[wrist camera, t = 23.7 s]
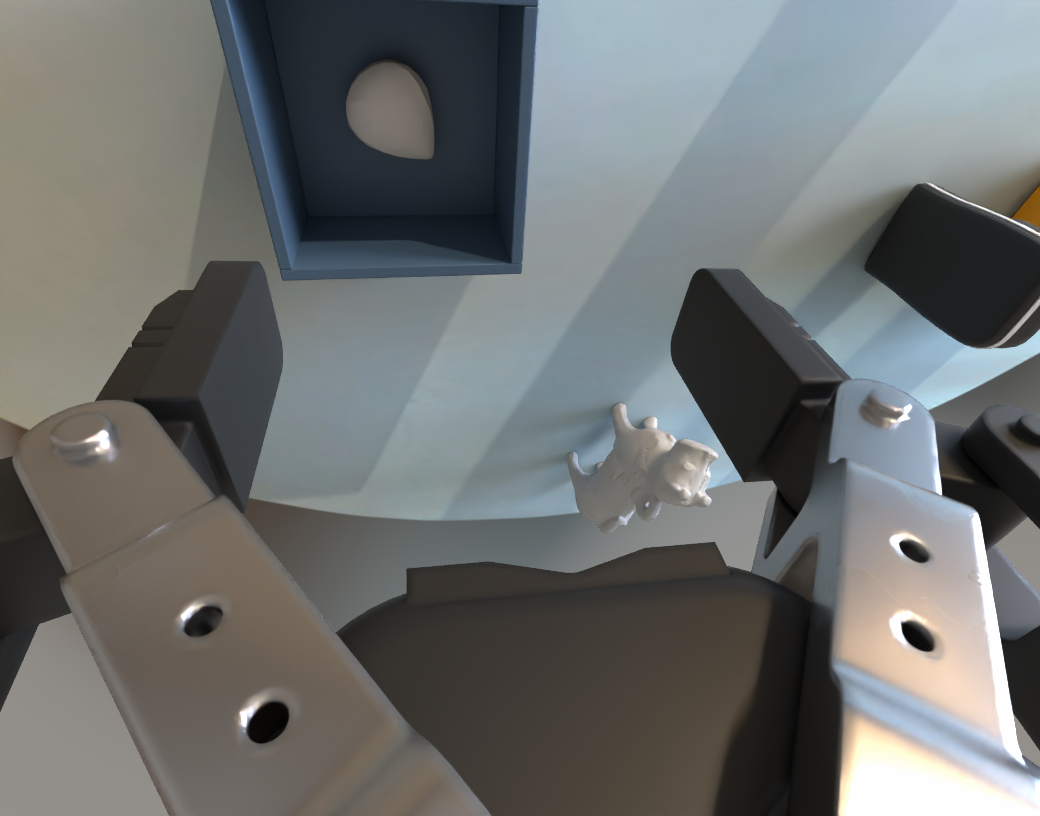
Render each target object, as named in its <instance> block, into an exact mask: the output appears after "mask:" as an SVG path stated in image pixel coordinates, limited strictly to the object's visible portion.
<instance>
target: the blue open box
mask: <svg viewBox="0 0 1040 816" xmlns="http://www.w3.org/2000/svg"><path fill="white" fill-rule="evenodd" d="M210 1H211V5H212V9H213V13H214V17H215V20H216V24H217V28H218V32H219V36H220V40H221V44H222V48H223V51H224V55H225V59H226V63H227V67H228V71H229V75H230V79H231V82H232V86H233V90H234V94H235V98H236V102H237V106H238V110H239V113H240V117H241V121H242V125H243V129H244V133H245V137H246V141H247V144H248V148H249V152H250V156H251V160H252V164H253V168H254V172H255V175H256V179H257V183H258V187H259V191H260V195H261V199H262V203H263V207H264V210H265V214H266V218H267V222H268V226H269V230H270V234H271V238H272V241H273V245H274V249H275V253H276V257H277V261H278V265H279V268H280V273H281V277H282V280H283V281H286V280H320V279H354V278H389V277H423V276H457V275H491V274H521V273H522V259H523V243H524V227H525V212H526V196H527V181H528V165H529V150H530V134H531V118H532V103H533V87H534V72H535V56H536V40H537V25H538V7H537V6H538V5H539V0H210ZM384 59H389V60H397V61H401V62H404V63H407V64H409V65H410V66H411V67H412V68H413V69H414V70H415V71H416V72H417V73H418V74H419V75H420V77H421V79H422V80H423V82H424V84H425V85H426V87H427V89H428V94H429V98H430V102H431V106H432V113H433V121H434V154H433V157H432V158H431V159H427V160H426V159H411V158H404V157H398V156H394V155H391V154H387V153H384V152H382V151H379V150H376V149H374V148H371V147H369V146H367V145H366V144H365V143H364V142H362V141H361V140H360V139H359V138H358V137H357V136H356V135H355V133H354V132H353V131H352V129H351V128H350V127H349V124H348V119H347V114H346V100H347V97H348V93H349V90H350V87H351V84H352V83H353V81H354V80H355V78H356V77H357V75H358V74H359V72H360V71H362V70H363V69H364V68H366V67H367V66H369V65H370V64H371V63H373V62H377V61H380V60H384Z"/></svg>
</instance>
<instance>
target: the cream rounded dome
mask: <svg viewBox="0 0 1040 816" xmlns="http://www.w3.org/2000/svg"><path fill="white" fill-rule="evenodd" d="M346 114H347V119H348V124H349V127H350V128H351V129H352V131H353V132H354V133H355V135H356V136H357V137H358V138H359V139H360V140H361V141H362V142H364V143H365V144H366V145H367V146H369V147H371V148H374V149H376V150H379V151H382V152H384V153H387V154H391V155H394V156H398V157H404V158H411V159H426V160H427V159H431V158H432V157H433V154H434V121H433V113H432V106H431V102H430V98H429V94H428V89H427V87H426V85H425V84H424V82H423V80H422V79H421V77H420V75H419V74H418V73H417V72H416V71H415V70H414V69H413V68H412V67H411V66H410V65H409V64H407V63H404V62H401V61H397V60H389V59H384V60H380V61H377V62H373V63H371V64H370V65H369V66H367V67H366V68H364V69H363V70H362V71H360V72H359V74H358V75H357V77H356V78H355V80H354V81H353V83H352V84H351V87H350V90H349V93H348V97H347V100H346Z"/></svg>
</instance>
